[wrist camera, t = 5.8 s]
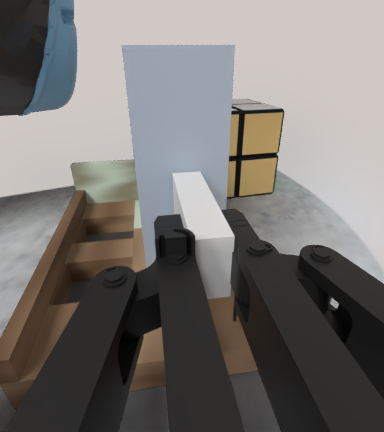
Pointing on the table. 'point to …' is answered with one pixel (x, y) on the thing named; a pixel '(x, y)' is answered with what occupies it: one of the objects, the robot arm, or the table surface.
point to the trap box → (82, 277)
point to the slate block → (178, 122)
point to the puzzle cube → (253, 147)
